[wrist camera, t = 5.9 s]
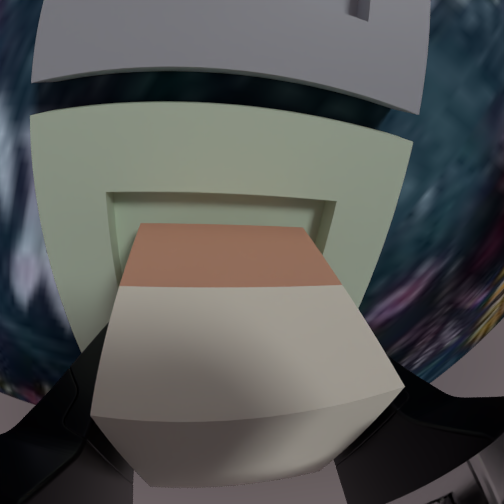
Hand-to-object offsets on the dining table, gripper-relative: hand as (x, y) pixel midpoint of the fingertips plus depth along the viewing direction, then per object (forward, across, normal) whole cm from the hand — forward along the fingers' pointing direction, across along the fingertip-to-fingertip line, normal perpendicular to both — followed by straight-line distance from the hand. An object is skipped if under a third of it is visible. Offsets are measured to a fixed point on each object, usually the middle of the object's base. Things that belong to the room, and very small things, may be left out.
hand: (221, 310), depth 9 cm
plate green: (+3, 0, 0) cm, 3 cm away
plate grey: (+3, 0, -13) cm, 13 cm away
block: (+1, 0, 0) cm, 1 cm away
